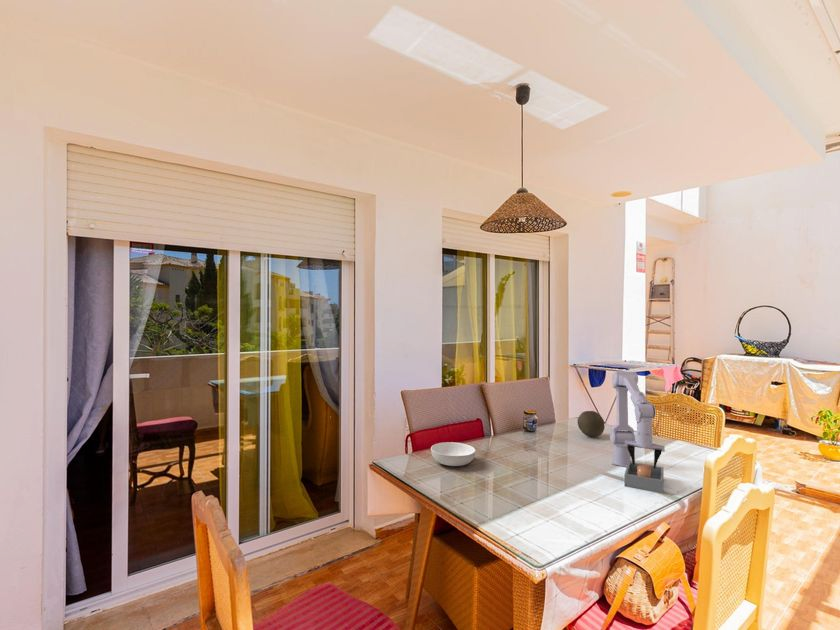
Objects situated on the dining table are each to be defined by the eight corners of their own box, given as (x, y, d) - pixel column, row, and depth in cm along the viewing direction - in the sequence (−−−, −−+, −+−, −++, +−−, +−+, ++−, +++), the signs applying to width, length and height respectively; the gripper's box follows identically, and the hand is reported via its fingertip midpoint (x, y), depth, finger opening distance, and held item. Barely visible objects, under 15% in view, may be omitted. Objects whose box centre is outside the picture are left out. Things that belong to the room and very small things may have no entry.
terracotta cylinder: (637, 479, 180) (637, 463, 180) (650, 482, 178) (651, 465, 178) (636, 483, 176) (636, 466, 176) (650, 486, 173) (650, 469, 173)
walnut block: (638, 474, 186) (638, 463, 186) (651, 476, 184) (652, 465, 184) (637, 478, 182) (637, 466, 182) (651, 480, 179) (651, 468, 179)
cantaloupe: (585, 432, 256) (586, 407, 256) (608, 438, 245) (609, 411, 245) (572, 436, 247) (573, 410, 247) (596, 442, 236) (596, 415, 236)
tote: (628, 472, 191) (628, 461, 191) (663, 479, 184) (663, 467, 184) (624, 486, 176) (624, 473, 176) (662, 493, 169) (662, 480, 169)
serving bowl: (470, 473, 188) (470, 458, 188) (424, 467, 195) (425, 452, 195) (479, 458, 207) (479, 444, 207) (437, 453, 214) (438, 439, 214)
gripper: (624, 432, 177) (623, 465, 177) (664, 438, 170) (664, 472, 170) (625, 428, 183) (625, 460, 183) (664, 433, 176) (664, 466, 176)
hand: (644, 465), depth 177 cm, fingers open, 7 cm apart
